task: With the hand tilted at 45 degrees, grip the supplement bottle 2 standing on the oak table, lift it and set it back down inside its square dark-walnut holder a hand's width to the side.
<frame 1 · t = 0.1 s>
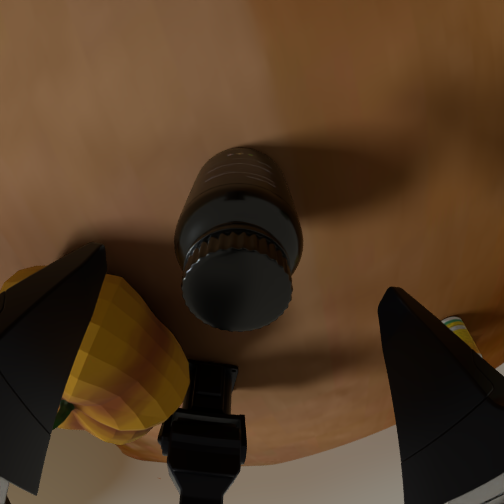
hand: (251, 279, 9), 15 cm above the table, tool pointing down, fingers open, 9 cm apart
supplement bottle 2: (443, 328, 33), on the table
decorative pumpkin: (102, 315, 31), on the table
supplement bottle: (241, 187, 23), on the table
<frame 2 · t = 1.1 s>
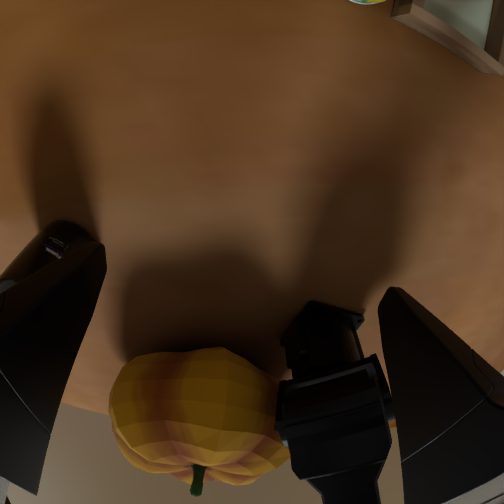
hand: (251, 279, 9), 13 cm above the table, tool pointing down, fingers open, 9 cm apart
walnut holder: (450, 0, 12), on the table
decorative pumpkin: (206, 376, 35), on the table
supplement bottle: (71, 249, 24), on the table
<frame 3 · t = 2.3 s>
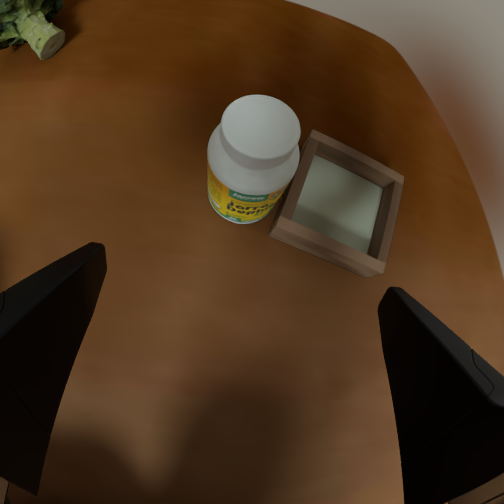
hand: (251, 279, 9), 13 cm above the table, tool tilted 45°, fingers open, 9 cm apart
vegetable: (39, 41, 24), on the table
walnut holder: (334, 209, 24), on the table
supplement bottle 2: (241, 193, 24), on the table
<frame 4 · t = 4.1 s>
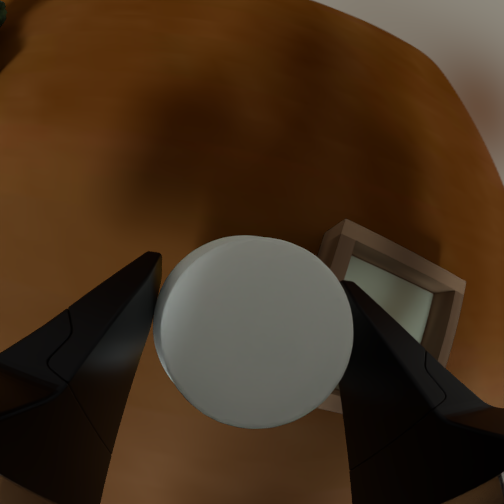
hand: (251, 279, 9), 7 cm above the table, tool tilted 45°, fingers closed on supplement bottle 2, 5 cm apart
walnut holder: (366, 332, 16), on the table
supplement bottle 2: (230, 319, 15), on the table, touching gripper
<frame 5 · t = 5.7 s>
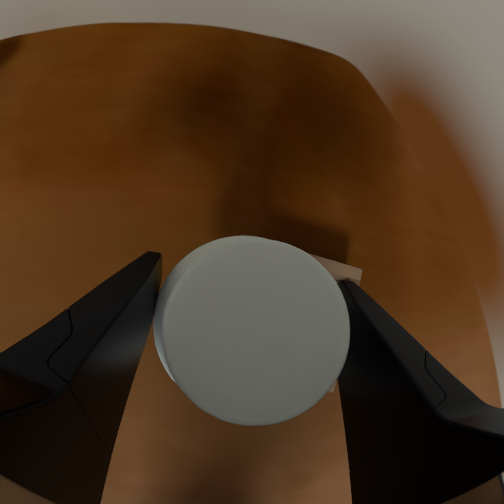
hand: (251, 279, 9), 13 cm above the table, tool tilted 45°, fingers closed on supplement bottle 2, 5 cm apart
walnut holder: (279, 316, 22), on the table
supplement bottle 2: (227, 317, 16), point 6 cm above the table, touching gripper
when the fingers open (9 cm above the table, at t = 7.3 s): supplement bottle 2 drops 1 cm, resting on walnut holder.
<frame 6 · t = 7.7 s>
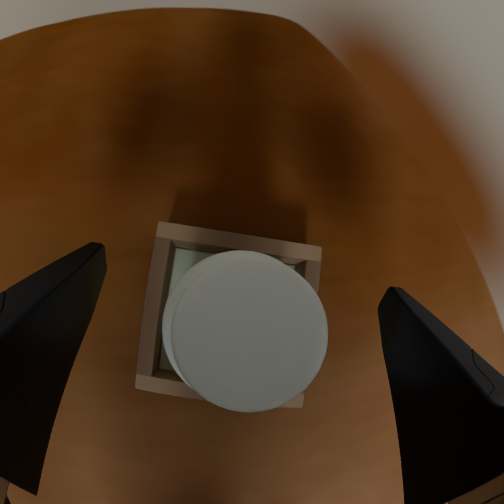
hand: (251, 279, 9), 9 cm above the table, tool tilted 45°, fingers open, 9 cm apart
walnut holder: (226, 317, 18), on the table
supplement bottle 2: (228, 321, 17), point 1 cm above the table, touching walnut holder
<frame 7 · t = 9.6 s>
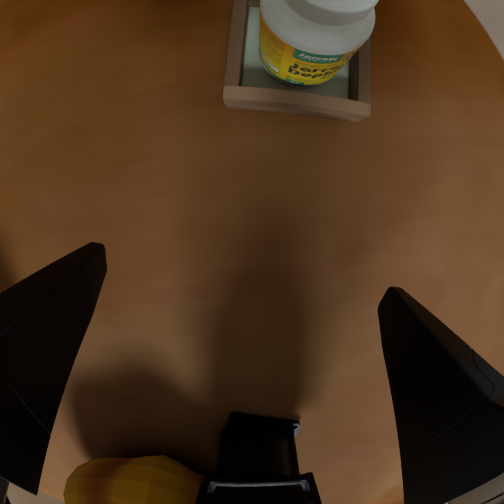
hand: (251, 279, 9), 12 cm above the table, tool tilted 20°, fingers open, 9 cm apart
walnut holder: (296, 56, 17), on the table
supplement bottle 2: (299, 54, 17), point 1 cm above the table, touching walnut holder
decorative pumpkin: (168, 481, 29), on the table
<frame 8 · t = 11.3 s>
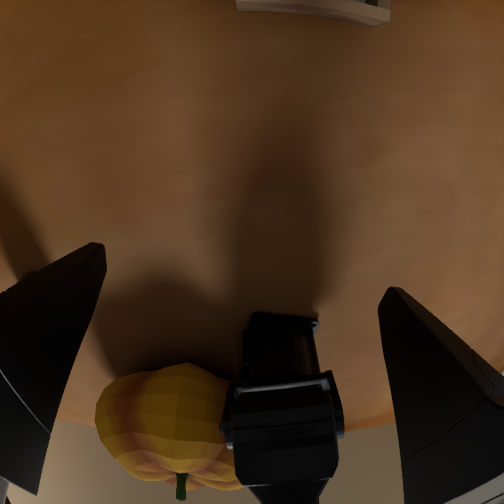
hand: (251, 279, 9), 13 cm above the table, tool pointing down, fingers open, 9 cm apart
decorative pumpkin: (191, 389, 36), on the table
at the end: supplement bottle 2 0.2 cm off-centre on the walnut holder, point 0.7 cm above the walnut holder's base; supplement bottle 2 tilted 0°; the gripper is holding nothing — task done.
